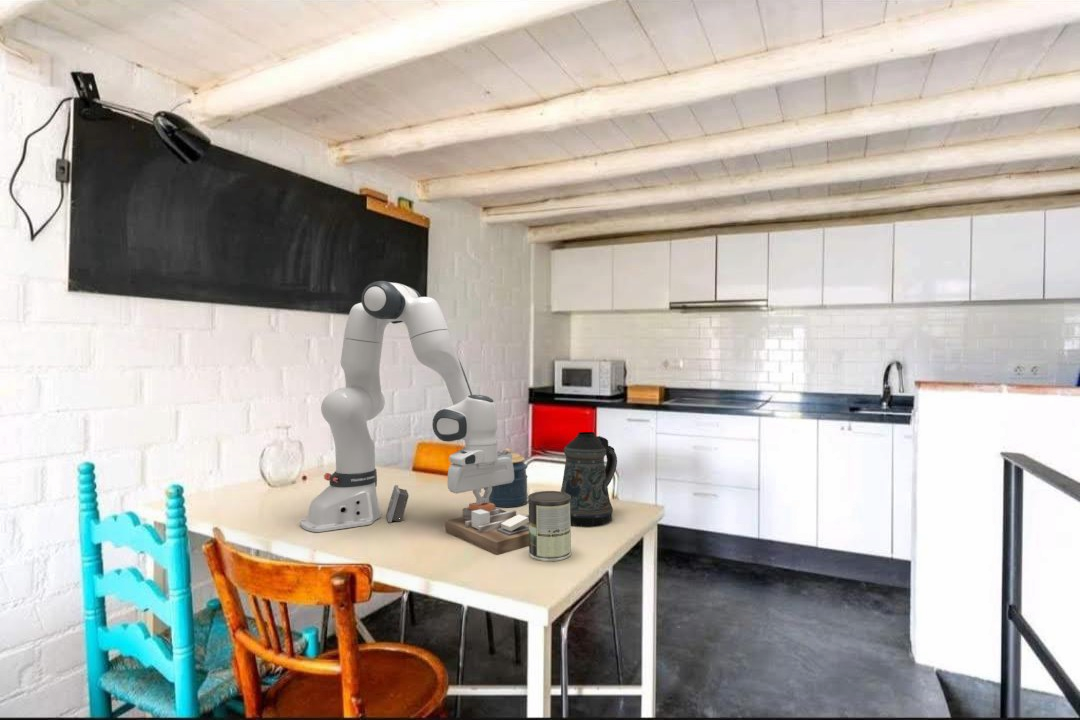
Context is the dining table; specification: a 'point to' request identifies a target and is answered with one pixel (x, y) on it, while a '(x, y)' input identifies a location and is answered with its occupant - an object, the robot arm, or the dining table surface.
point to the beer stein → (589, 479)
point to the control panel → (490, 531)
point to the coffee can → (549, 525)
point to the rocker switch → (514, 522)
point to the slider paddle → (480, 518)
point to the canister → (512, 486)
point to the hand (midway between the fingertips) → (482, 503)
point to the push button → (481, 506)
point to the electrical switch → (397, 504)
